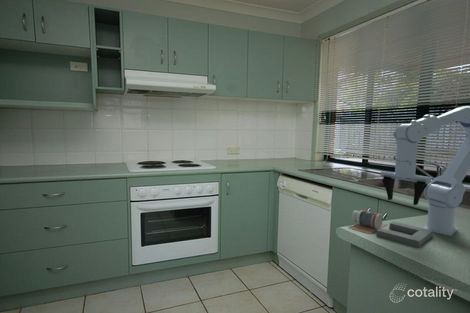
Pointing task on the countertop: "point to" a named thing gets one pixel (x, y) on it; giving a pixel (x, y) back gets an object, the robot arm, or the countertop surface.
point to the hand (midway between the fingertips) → (402, 201)
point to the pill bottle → (367, 218)
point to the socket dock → (415, 240)
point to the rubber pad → (365, 228)
